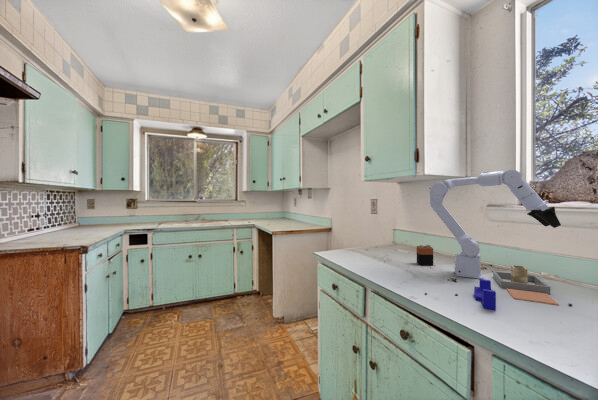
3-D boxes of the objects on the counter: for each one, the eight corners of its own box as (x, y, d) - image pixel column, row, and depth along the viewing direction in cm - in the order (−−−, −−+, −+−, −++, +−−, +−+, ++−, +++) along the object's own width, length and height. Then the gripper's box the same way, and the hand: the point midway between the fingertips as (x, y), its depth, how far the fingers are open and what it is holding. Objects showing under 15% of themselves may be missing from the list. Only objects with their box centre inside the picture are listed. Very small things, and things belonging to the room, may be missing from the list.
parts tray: (501, 287, 91) (501, 281, 91) (493, 276, 103) (493, 271, 103) (550, 294, 85) (550, 287, 85) (535, 281, 97) (535, 275, 97)
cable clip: (474, 294, 86) (474, 278, 86) (490, 297, 84) (490, 280, 84) (477, 308, 76) (477, 289, 76) (495, 311, 74) (495, 292, 74)
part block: (513, 285, 93) (513, 267, 93) (510, 282, 97) (510, 264, 97) (527, 287, 91) (527, 268, 91) (523, 283, 95) (523, 266, 95)
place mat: (513, 298, 82) (513, 297, 82) (506, 289, 90) (506, 288, 90) (558, 305, 77) (558, 304, 77) (546, 294, 84) (546, 293, 84)
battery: (433, 265, 121) (433, 246, 120) (419, 265, 121) (419, 246, 121) (430, 263, 125) (429, 244, 125) (416, 263, 126) (416, 244, 126)
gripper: (545, 188, 87) (575, 221, 83) (531, 191, 99) (556, 219, 95) (524, 199, 89) (551, 231, 86) (512, 200, 102) (536, 228, 98)
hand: (552, 225), depth 91 cm, fingers open, 7 cm apart
